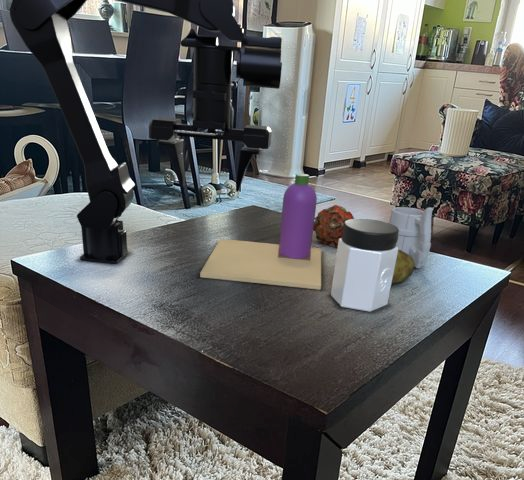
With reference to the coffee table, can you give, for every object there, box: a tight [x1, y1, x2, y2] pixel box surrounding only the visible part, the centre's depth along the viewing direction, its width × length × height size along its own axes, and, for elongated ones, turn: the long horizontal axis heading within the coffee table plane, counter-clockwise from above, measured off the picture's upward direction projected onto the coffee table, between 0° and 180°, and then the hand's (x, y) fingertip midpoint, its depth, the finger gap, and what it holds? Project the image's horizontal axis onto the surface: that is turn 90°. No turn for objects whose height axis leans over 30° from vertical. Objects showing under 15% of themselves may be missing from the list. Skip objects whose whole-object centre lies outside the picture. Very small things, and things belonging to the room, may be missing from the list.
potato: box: [391, 249, 415, 285], centre depth 91 cm, size 8×13×8 cm, turn 92°
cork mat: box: [199, 238, 322, 291], centre depth 96 cm, size 20×20×1 cm
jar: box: [330, 218, 399, 313], centre depth 81 cm, size 9×8×12 cm
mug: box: [388, 206, 434, 269], centre depth 99 cm, size 8×12×12 cm, turn 17°
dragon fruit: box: [313, 204, 355, 248], centre depth 109 cm, size 8×8×12 cm
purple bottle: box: [278, 173, 318, 259], centre depth 97 cm, size 6×6×14 cm
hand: (209, 188), depth 88 cm, fingers open, 9 cm apart
